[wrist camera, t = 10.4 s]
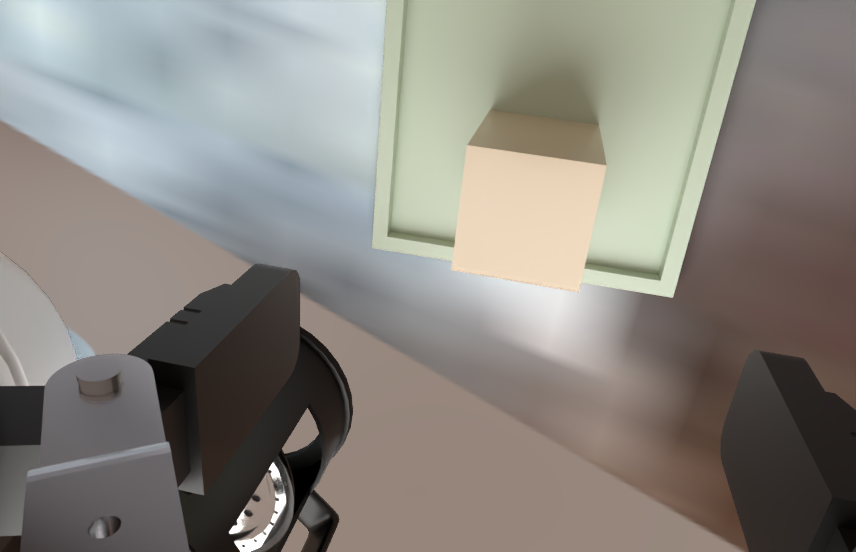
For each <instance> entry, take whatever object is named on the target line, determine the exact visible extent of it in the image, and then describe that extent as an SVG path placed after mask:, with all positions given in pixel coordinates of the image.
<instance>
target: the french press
mask: <svg viewBox="0 0 856 552" xmlns="http://www.w3.org/2000/svg"><path fill="white" fill-rule="evenodd" d="M307 407H308V409H309V410H310V412H311V414H312V416H313V418H314V420H315V422H316V424H317V428H318V430H319V435H318V436H317V437H316V439H315V440H314V441H312V442H311V443H310V444H309V445H308V446H306V447H304V448H302V449H300V450H298V451H295V452H291V453H287V454H284V452H283V451H282V447H283V446H284V444H285V443H286V441H287V439H288V438H289V436H290V435H291V433H292V431H293V430H294V428H295V427H296V425H297V423H298V422H299V420H300V418H301V417H302V415H303V414H304V412H305V410H306V409H307ZM352 415H353V406H352V395H351V392H350V388H349V385H348V382H347V378H346V377H345V375H344V373H343V371H342V369H341V367H340V365H339V364H338V362H337V361H336V359H335V358H334V357H333V356H332V354H331V353H330V352H329V350H328V349H327V348H326V347H325V346H324V345H323V344H322V343H321V342H320V341H319V340H318V339H316V338H315V337H314V336H313V335H312V334H311V333H309V332H308V331H306V330H305V329H303V328H301V327H300V346H299V353H298V358H297V362H296V365H295V368H294V370H293V372H292V374H291V376H290V378H289V379H288V380H287V382H286V383H285V384H284V386H283V387H282V389H281V390H280V391H279V393H278V394H277V395H276V397H275V398H274V400H273V401H272V402H271V404H270V405H269V407H268V408H267V409H266V411H265V412H264V413H263V415H262V416H261V418H260V419H259V420H258V422H257V423H256V424H255V426H254V427H253V429H252V430H251V431H250V433H249V434H248V435H247V437H246V438H245V440H244V441H243V442H242V444H241V445H240V447H239V448H238V449H237V451H236V452H235V453H234V455H233V456H232V458H231V459H230V460H229V462H228V463H227V464H226V466H225V467H224V469H223V470H222V471H221V473H220V474H219V475H218V477H217V478H216V480H215V481H214V482H213V484H212V485H211V487H210V488H209V489H208V491H207V492H206V493H205V495H200V494H195V493H191V492H186V491H182V490H178V492H179V497H180V503H181V508H182V513H183V519H184V524H185V529H186V535H187V540H188V546H189V551H190V552H281V550H282V548H283V546H284V544H285V542H286V540H287V538H288V536H289V534H290V533H291V530H292V529H293V527H294V525H295V523H296V521H297V519H298V520H299V521H300V522H302V524H303V525H304V526H305V527H306V528H307V529H308V531H309V535H308V538H307V540H306V543H305V544H304V546H303V548H302V551H301V552H326V551H327V549H328V546H329V544H330V542H331V539H332V537H333V535H334V532H335V530H336V528H337V525H338V523H339V516H338V514H337V513H336V512H335V510H334V509H333V508H332V507H330V505H329V504H328V503H327V502H326V501H325V500H324V499H323V498H322V497H321V496H320V495H319V494H318V493H317V492H316V491H315V490H314V488H315V487H316V486H317V484H318V483H319V481H320V479H321V477H322V475H323V473H324V471H325V469H326V467H327V465H328V463H329V461H330V459H331V458H332V457H334V456H335V454H336V453H337V452H338V451H339V449H340V448H341V446H342V445H343V444H344V442H345V440H346V437H347V435H348V432H349V430H350V428H351V422H352ZM20 547H21V535H18V536H14V538H13V539H12V540H11V541H10V542H9V543H8V544H7V545H6V546H5V547H4V548H3V550H2V551H1V552H20Z"/></svg>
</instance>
